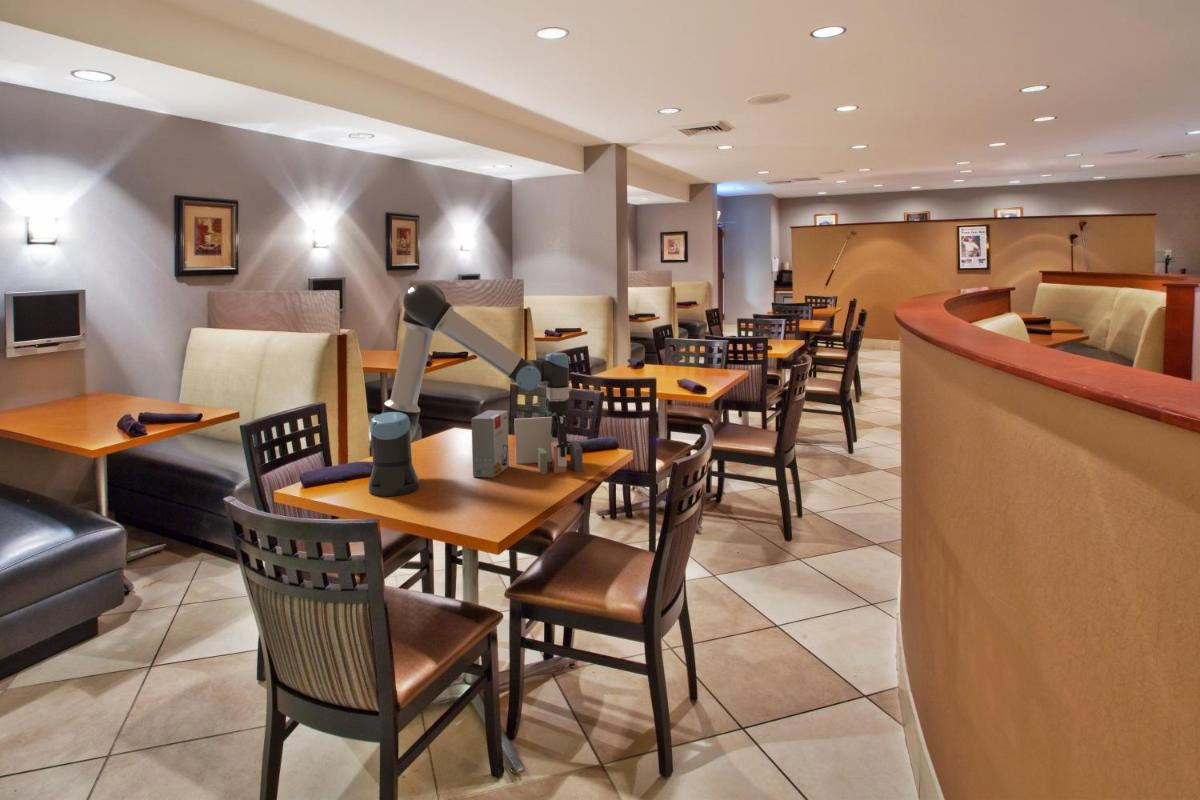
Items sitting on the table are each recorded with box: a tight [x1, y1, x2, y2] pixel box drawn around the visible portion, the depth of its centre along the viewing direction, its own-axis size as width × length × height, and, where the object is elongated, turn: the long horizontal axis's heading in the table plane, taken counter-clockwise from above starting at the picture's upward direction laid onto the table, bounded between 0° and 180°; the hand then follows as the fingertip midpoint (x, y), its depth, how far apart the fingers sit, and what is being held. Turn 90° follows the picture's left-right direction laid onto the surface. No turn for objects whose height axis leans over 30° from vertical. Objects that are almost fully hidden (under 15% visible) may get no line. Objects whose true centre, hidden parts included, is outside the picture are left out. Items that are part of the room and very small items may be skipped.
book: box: [551, 442, 567, 474], centre depth 239 cm, size 4×6×9 cm, turn 12°
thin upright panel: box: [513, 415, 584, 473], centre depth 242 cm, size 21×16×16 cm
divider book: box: [537, 448, 548, 475], centre depth 239 cm, size 2×8×7 cm, turn 12°
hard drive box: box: [471, 409, 510, 479], centre depth 237 cm, size 16×8×20 cm, turn 168°
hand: (559, 460), depth 239 cm, fingers open, 13 cm apart
